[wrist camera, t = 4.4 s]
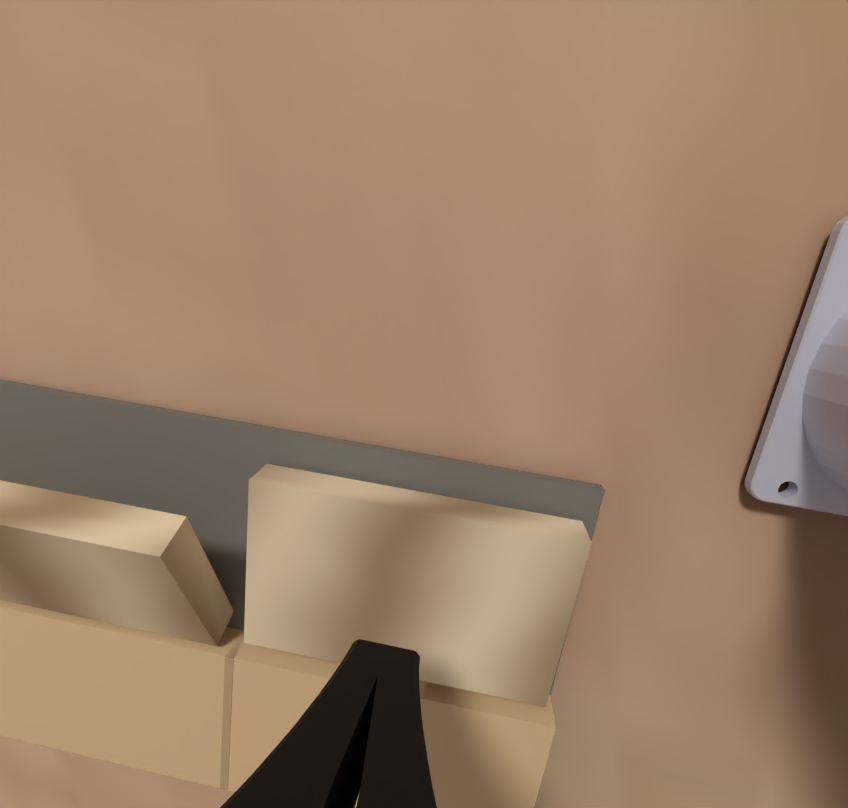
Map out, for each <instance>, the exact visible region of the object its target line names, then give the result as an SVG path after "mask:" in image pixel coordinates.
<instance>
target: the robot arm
mask: <svg viewBox="0 0 848 808" xmlns="http://www.w3.org/2000/svg"><path fill="white" fill-rule="evenodd" d="M788 481H789V484H788V487H787V488H786V490H784V491H782V492H778V488H779V486H780V485H781V484H782V483H784V482H788ZM744 485H745V488H746V491H747V492H748V493H749V494H751V495H752V496H753V497H755V498H756V499H758V500H760V501H763V502H769V503H774V504H780V505H786V506H792V507H797V508H803V509H809V510H815V511H821V512H826V513H832V514H838V515H844V516H848V216H846V217H844V218H842V219H841V220H840V221H839V222H838V223H836V224H835V226H834V228H833V230H832V232H831V234H830V237H829V240H828V243H827V246H826V248H825V251H824V254H823V257H822V260H821V263H820V266H819V269H818V271H817V274H816V277H815V280H814V283H813V286H812V289H811V291H810V294H809V297H808V300H807V303H806V306H805V309H804V312H803V314H802V317H801V320H800V323H799V326H798V329H797V332H796V335H795V337H794V340H793V343H792V346H791V349H790V352H789V355H788V357H787V360H786V363H785V366H784V369H783V372H782V375H781V378H780V380H779V383H778V386H777V389H776V392H775V395H774V398H773V400H772V403H771V406H770V409H769V412H768V415H767V418H766V421H765V423H764V426H763V429H762V432H761V435H760V438H759V441H758V443H757V446H756V449H755V452H754V455H753V458H752V461H751V464H750V466H749V469H748V472H747V475H746V478H745V484H744ZM419 664H420V656H419V655H418V653H417V652H416V651H414V650H409V649H404V648H400V647H395V646H390V645H386V644H381V643H376V642H372V641H367V640H362V639H358V640H356V641H355V642H353V644H352V645H351V647H350V649H349V651H348V652H347V654H346V655H345V657H344V659H343V660H342V662H341V663H340V665H339V666H338V668H337V669H336V671H335V672H334V674H333V675H332V677H331V678H330V679H329V681H328V682H327V683H326V685H325V686H324V688H323V689H322V690H321V692H320V693H319V694H318V696H317V697H316V698H315V700H314V701H313V702H312V703H311V705H310V706H309V707H308V708H307V710H306V711H305V712H304V714H303V715H302V716H301V717H300V719H299V720H298V721H297V723H296V724H295V725H294V726H293V727H292V729H291V730H290V731H289V732H288V734H287V735H286V736H285V737H284V738H283V739H282V740H281V742H280V743H279V744H278V745H277V746H276V747H275V749H274V750H273V751H272V752H271V753H270V754H269V755H268V757H267V758H266V759H265V760H264V761H263V762H262V763H261V765H260V766H259V767H258V768H257V769H256V770H255V771H254V773H253V774H252V775H251V776H250V777H249V778H248V779H247V780H246V781H245V782H244V783H243V784H242V785H241V787H240V788H239V789H238V790H237V791H236V792H235V793H234V794H233V795H232V796H231V797H230V798H229V799H228V800H227V801H226V802H225V803H224V804H223V805H222V806H221V807H220V808H355V804H356V801H357V798H358V801H357V806H356V808H437V806H436V801H435V796H434V791H433V786H432V781H431V775H430V770H429V764H428V757H427V751H426V744H425V738H424V731H423V723H422V714H421V703H420V689H419ZM358 795H359V796H358Z"/></svg>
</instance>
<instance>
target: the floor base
mask: <svg viewBox="0 0 848 808" xmlns="http://www.w3.org/2000/svg"><path fill="white" fill-rule="evenodd" d="M266 464H271V465H277V466H282V467H288V468H293V469H299V470H304V471H310V472H315V473H321V474H326V475H332V476H337V477H343V478H348V479H354V480H359V481H365V482H370V483H376V484H381V485H387V486H392V487H398V488H403V489H409V490H414V491H420V492H425V493H431V494H436V495H442V496H447V497H453V498H458V499H464V500H469V501H475V502H480V503H486V504H491V505H497V506H502V507H508V508H513V509H519V510H524V511H530V512H535V513H541V514H546V515H552V516H557V517H563V518H568V519H574V520H579V521H582V522H583V524H584V526H585V528H586V531H587V533H588V535H589V538H590V540H592V536H593V532H594V528H595V525H596V521H597V517H598V513H599V510H600V506H601V502H602V498H603V495H604V491H605V490H604V489H603V487H602V486H601V485H598V484H592V483H587V482H581V481H575V480H569V479H564V478H558V477H552V476H547V475H541V474H535V473H530V472H524V471H518V470H512V469H507V468H501V467H495V466H490V465H484V464H478V463H473V462H467V461H461V460H455V459H450V458H444V457H438V456H433V455H427V454H421V453H416V452H410V451H404V450H398V449H393V448H387V447H381V446H376V445H370V444H364V443H359V442H353V441H347V440H342V439H336V438H330V437H324V436H319V435H313V434H307V433H302V432H296V431H290V430H285V429H279V428H273V427H267V426H262V425H256V424H250V423H245V422H239V421H233V420H228V419H222V418H216V417H210V416H205V415H199V414H193V413H188V412H182V411H176V410H171V409H165V408H159V407H153V406H148V405H142V404H136V403H131V402H125V401H119V400H114V399H108V398H102V397H96V396H91V395H85V394H79V393H74V392H68V391H62V390H57V389H51V388H45V387H40V386H34V385H28V384H22V383H17V382H11V381H5V380H0V480H1V481H6V482H11V483H17V484H22V485H27V486H32V487H37V488H42V489H48V490H53V491H58V492H63V493H68V494H73V495H79V496H84V497H89V498H94V499H99V500H104V501H110V502H115V503H120V504H125V505H130V506H135V507H141V508H146V509H151V510H156V511H161V512H166V513H172V514H177V515H182V516H187V518H188V520H189V522H190V524H191V526H192V528H193V530H194V532H195V534H196V536H197V538H198V540H199V542H200V544H201V546H202V548H203V550H204V552H205V554H206V556H207V558H208V560H209V562H210V564H211V566H212V568H213V570H214V572H215V574H216V576H217V578H218V580H219V582H220V584H221V586H222V588H223V590H224V592H225V594H226V596H227V598H228V600H229V602H230V604H231V606H232V608H233V610H234V612H233V614H232V616H231V618H230V620H229V623H228V625H227V627H226V629H225V631H224V633H223V635H222V637H221V639H220V641H219V643H218V646H213V645H209V644H204V643H199V642H195V641H190V640H185V639H181V638H176V637H171V636H167V635H162V634H158V633H153V632H148V631H144V630H139V629H134V628H130V627H125V626H120V625H116V624H111V623H106V622H102V621H97V620H92V619H88V618H83V617H78V616H74V615H69V614H64V613H60V612H55V611H51V610H46V609H41V608H37V607H32V606H27V605H23V604H18V603H13V602H9V601H4V600H0V736H4V737H8V738H12V739H16V740H21V741H25V742H29V743H33V744H37V745H42V746H46V747H50V748H54V749H58V750H62V751H67V752H71V753H75V754H79V755H83V756H87V757H92V758H96V759H100V760H104V761H108V762H113V763H117V764H121V765H125V766H129V767H133V768H138V769H142V770H146V771H150V772H154V773H159V774H163V775H167V776H171V777H175V778H179V779H184V780H188V781H192V782H196V783H200V784H205V785H209V786H213V787H217V788H220V789H223V790H227V791H228V790H230V791H234V792H236V791H237V790H238V789H239V788H240V787H241V785H242V784H243V783H244V782H245V781H246V780H247V779H248V778H249V777H250V776H251V775H252V774H253V773H254V771H255V770H256V769H257V768H258V767H259V766H260V765H261V763H262V762H263V761H264V760H265V759H266V758H267V757H268V755H269V754H270V753H271V752H272V751H273V750H274V749H275V747H276V746H277V745H278V744H279V743H280V742H281V740H282V739H283V738H284V737H285V736H286V735H287V734H288V732H289V731H290V730H291V729H292V727H293V726H294V725H295V724H296V723H297V721H298V720H299V719H300V717H301V716H302V715H303V714H304V712H305V711H306V710H307V708H308V707H309V706H310V705H311V703H312V702H313V701H314V700H315V698H316V697H317V696H318V694H319V693H320V692H321V690H322V689H323V688H324V686H325V685H326V683H327V682H328V681H329V679H330V678H331V677H332V675H333V674H334V672H335V671H336V669H337V668H338V666H339V665H340V663H337V662H332V661H327V660H323V659H318V658H313V657H309V656H304V655H299V654H294V653H290V652H285V651H280V650H276V649H271V648H266V647H262V646H257V645H252V644H248V643H244V619H245V587H246V555H247V522H248V490H249V479H250V478H251V477H253V476H254V475H255V474H256V473H257V472H258V471H259V470H261V469H262V468H263V467H264V466H265V465H266ZM566 634H567V633H566ZM565 638H566V637H565ZM563 645H564V644H563ZM562 649H563V648H562ZM561 653H562V651H561ZM560 656H561V655H560ZM559 660H560V658H559ZM558 664H559V662H558ZM557 668H558V665H557ZM556 671H557V669H556ZM555 675H556V672H555ZM554 679H555V676H554ZM553 683H554V680H553ZM553 683H552V687H553ZM552 687H551V690H552ZM419 689H420V703H421V714H422V723H423V731H424V738H425V744H426V751H427V757H428V764H429V770H430V775H431V781H432V786H433V791H434V796H435V801H436V806H437V808H534V806H535V803H536V799H537V795H538V792H539V788H540V785H541V781H542V777H543V774H544V770H545V766H546V763H547V759H548V756H549V752H550V748H551V745H552V741H553V738H554V734H555V730H556V724H555V719H554V713H553V708H552V703H551V697H550V694H551V690H550V694H549V697H548V701H547V704H546V707H543V706H538V705H534V704H529V703H524V702H520V701H515V700H510V699H505V698H501V697H496V696H491V695H487V694H482V693H477V692H473V691H468V690H463V689H459V688H454V687H449V686H445V685H440V684H435V683H430V682H426V681H421V680H419ZM358 796H359V795H358ZM357 801H358V798H357ZM357 801H356V804H355V808H356V806H357Z"/></svg>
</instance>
